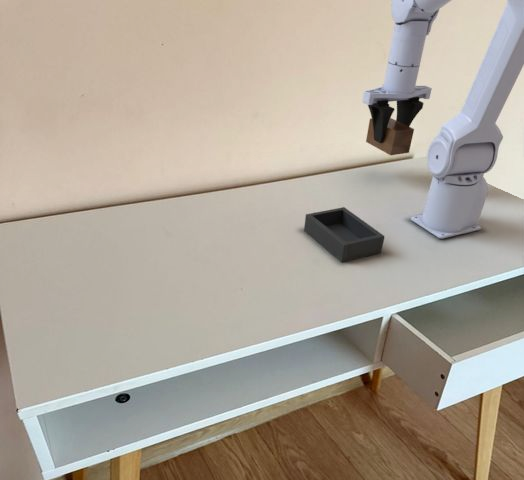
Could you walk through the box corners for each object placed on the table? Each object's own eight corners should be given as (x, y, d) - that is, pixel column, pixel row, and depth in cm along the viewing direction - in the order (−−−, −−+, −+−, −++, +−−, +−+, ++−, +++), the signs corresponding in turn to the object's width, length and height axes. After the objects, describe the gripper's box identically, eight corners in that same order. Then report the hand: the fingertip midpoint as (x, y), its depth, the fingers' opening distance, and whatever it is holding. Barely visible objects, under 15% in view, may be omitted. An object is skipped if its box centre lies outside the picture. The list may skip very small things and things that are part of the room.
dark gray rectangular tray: (341, 223, 96) (344, 206, 94) (381, 252, 88) (384, 236, 86) (303, 230, 93) (305, 214, 91) (341, 262, 85) (344, 245, 83)
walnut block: (383, 139, 112) (388, 116, 110) (409, 152, 107) (414, 128, 104) (365, 141, 111) (369, 118, 108) (390, 155, 105) (395, 131, 102)
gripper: (420, 56, 105) (404, 129, 113) (357, 60, 99) (346, 137, 108) (445, 65, 100) (427, 140, 109) (382, 69, 94) (368, 149, 103)
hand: (388, 139), depth 108 cm, fingers closed on walnut block, 4 cm apart
